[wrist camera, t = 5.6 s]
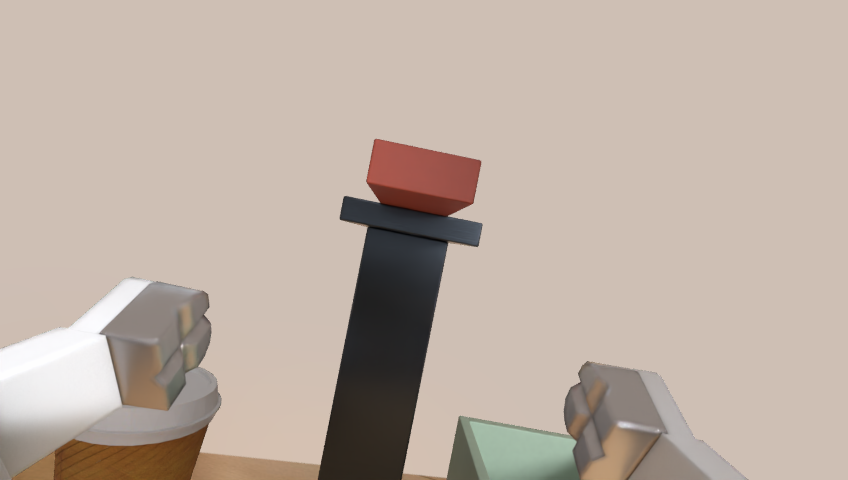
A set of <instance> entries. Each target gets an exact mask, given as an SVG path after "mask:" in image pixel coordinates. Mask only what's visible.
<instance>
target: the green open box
mask: <svg viewBox="0 0 848 480" xmlns="http://www.w3.org/2000/svg"><path fill="white" fill-rule="evenodd" d="M575 444H576V441H575V440H574V439H573V437H572V436H570V435H564V434H559V433H553V432H548V431H542V430H537V429H531V428H526V427H520V426H515V425H509V424H503V423H497V422H492V421H486V420H481V419H475V418H470V417H469V418H468V417H464V416H459V419H458V425H457V429H456V434H455V439H454V444H453V450H452V455H451V460H450V465H449V470H448V475H447V480H580V478H579V474H578V471H577V467H576V463H575V460H574V456H573V452H572V450H573V448H574V446H575Z"/></svg>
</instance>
